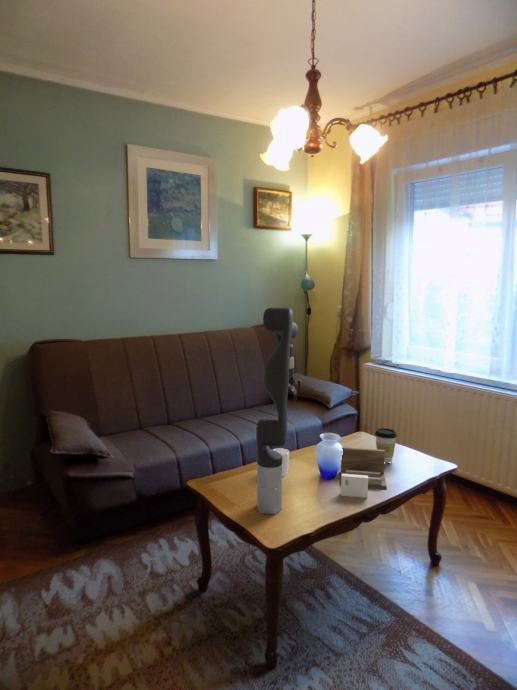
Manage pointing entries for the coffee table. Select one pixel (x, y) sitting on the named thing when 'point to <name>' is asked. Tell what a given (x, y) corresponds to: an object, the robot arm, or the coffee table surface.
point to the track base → (365, 465)
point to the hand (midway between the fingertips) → (285, 401)
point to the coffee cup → (386, 442)
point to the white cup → (284, 459)
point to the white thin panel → (354, 485)
